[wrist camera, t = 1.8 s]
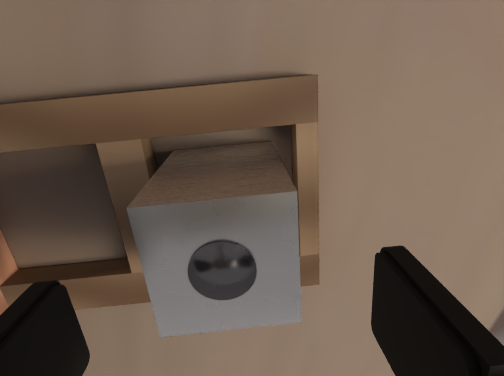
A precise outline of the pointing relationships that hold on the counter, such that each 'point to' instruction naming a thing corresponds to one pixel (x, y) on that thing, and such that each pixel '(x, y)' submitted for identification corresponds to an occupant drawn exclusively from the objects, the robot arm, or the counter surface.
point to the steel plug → (219, 240)
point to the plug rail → (144, 166)
